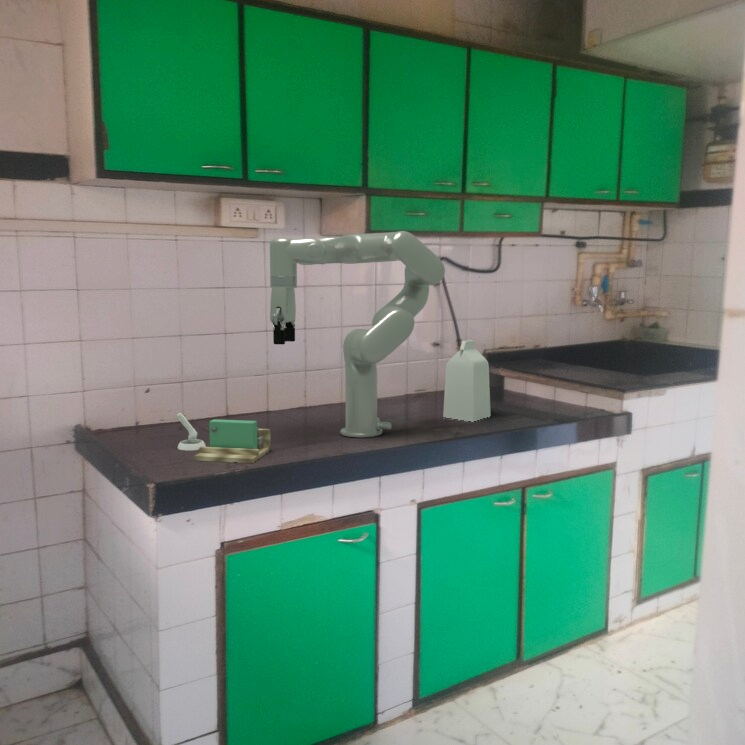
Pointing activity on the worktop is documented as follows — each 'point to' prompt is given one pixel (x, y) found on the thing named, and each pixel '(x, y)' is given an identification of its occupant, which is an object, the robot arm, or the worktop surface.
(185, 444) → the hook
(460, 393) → the milk
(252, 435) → the door
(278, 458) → the worktop surface
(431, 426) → the worktop surface
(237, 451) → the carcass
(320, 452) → the worktop surface
